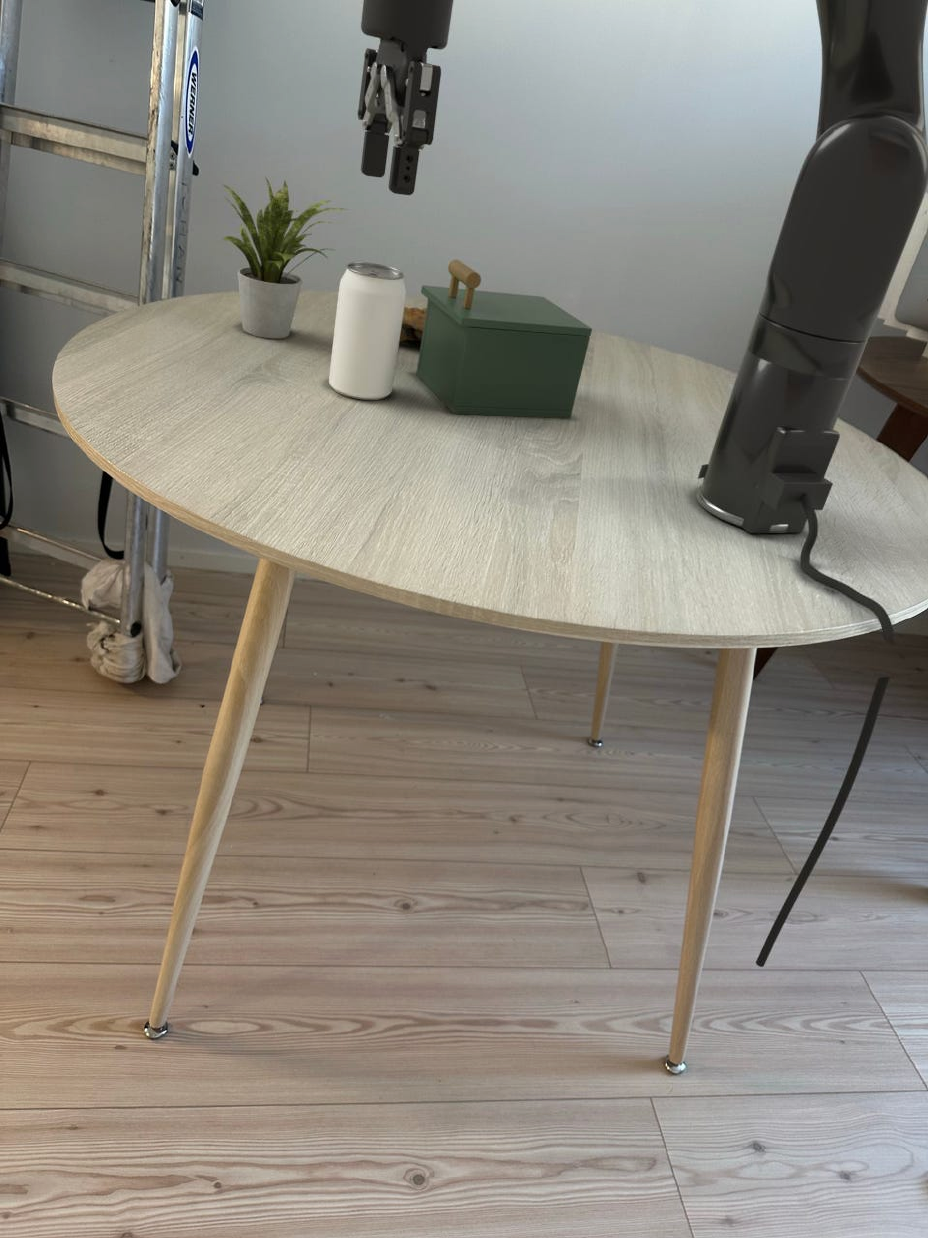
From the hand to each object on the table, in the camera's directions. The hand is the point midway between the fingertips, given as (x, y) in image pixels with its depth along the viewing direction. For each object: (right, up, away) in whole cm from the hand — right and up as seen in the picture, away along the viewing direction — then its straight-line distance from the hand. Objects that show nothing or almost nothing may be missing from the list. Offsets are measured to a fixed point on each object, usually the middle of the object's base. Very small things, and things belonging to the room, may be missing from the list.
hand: (386, 184), depth 91 cm
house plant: (-14, -8, +21) cm, 27 cm away
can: (-3, -17, +10) cm, 20 cm away
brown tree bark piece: (+4, -7, +30) cm, 31 cm away
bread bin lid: (+11, -8, +11) cm, 18 cm away
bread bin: (+10, -16, +16) cm, 25 cm away
